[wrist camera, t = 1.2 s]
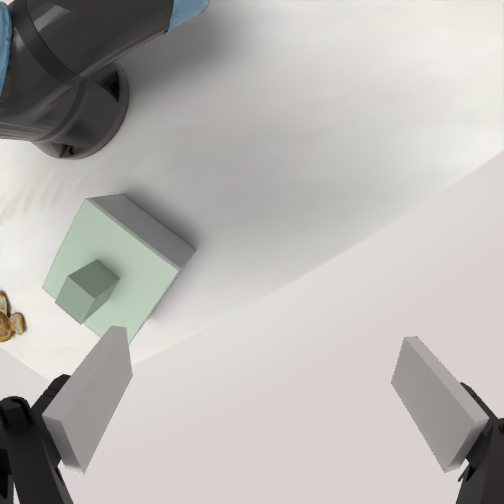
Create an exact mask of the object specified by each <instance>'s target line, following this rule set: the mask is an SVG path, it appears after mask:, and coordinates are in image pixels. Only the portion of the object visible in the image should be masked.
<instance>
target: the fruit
mask: <svg viewBox="0 0 504 504" xmlns="http://www.w3.org/2000/svg"><path fill="white" fill-rule="evenodd" d="M6 313H7V302H6V299H5V297H4V295H3V294H1V293H0V342H5V341H8V340H10V339H11V337H12V335H13V334H14V331H15V332H16V333H17V334H18V335H22V334H23V333H24V330H23V320H22V316H21V315H19V314H18V313H17V314H13V315H11V317H10V318H8V316H7V314H6Z"/></svg>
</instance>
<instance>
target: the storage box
mask: <svg viewBox="0 0 504 504" xmlns="http://www.w3.org/2000/svg"><path fill="white" fill-rule="evenodd" d="M91 199H92V200H93V201H94V202H95V203H97V204H98V205H99V206H100V207H102V208H103V209H104V210H105V211H107V212H108V213H109V214H110V215H112V216H113V217H114V218H115V219H117V220H118V221H119V222H121V223H122V224H123V225H124V226H126V227H127V228H128V229H129V230H131V231H132V232H133V233H135V234H136V235H137V236H138V237H140V238H141V239H142V240H144V241H145V242H146V243H148V244H149V245H150V246H152V247H153V248H154V249H155V250H157V251H158V252H159V253H161V254H162V255H163V256H165V257H166V258H167V259H169V260H170V261H171V262H173V263H174V264H175V265H177V266H178V267H180V268H181V269H180V271H179V272H178V273H177V275H176V276H175V278H174V279H173V281H174V280H175V279H176V277H177V276H178V274H179V273H180V272H181V270H182V269H183V267H184V266H185V265H186V263H187V262H188V260H189V259H190V258H191V256H192V255H193V253H194V252H195V251H196V249H195V248H193V247H192V246H190V245H189V244H188V243H186V242H185V241H184V240H182V239H181V238H180V237H178V236H177V235H176V234H174V233H173V232H172V231H170V230H169V229H168V228H166V227H165V226H164V225H162V224H161V223H160V222H158V221H157V220H156V219H154V218H153V217H152V216H151V215H149V214H148V213H147V212H145V211H144V210H143V209H141V208H140V207H139V206H137V205H136V204H135V203H134V202H132V201H131V200H130V199H128V198H127V197H126V196H124V195H123V194H117V195H109V196H101V197H94V198H91ZM173 281H172V282H171V283H170V285H169V286H168V288H167V289H166V291H167V290H168V289H169V287H170V286H171V284H172V283H173ZM166 291H165V292H164V293H163V295H162V296H161V298H160V299H159V301H158V302H157V304H158V303H159V302H160V300H161V299H162V297H163V296H164V294H165V293H166ZM157 304H156V305H155V306H154V308H153V309H152V311H151V312H150V314H149V315H148V317H147V318H146V320H147V319H148V318H149V316H150V315H151V313H152V312H153V310H154V309H155V307H156V306H157ZM146 320H145V321H144V323H145V322H146ZM144 323H143V324H144ZM143 324H142V326H143ZM142 326H141V327H142ZM141 327H140V329H141ZM140 329H139V330H140ZM139 330H138V331H139ZM137 333H138V332H137ZM137 333H136V334H137ZM135 336H136V335H135ZM135 336H134V337H135ZM132 340H133V339H132ZM130 343H131V342H130Z"/></svg>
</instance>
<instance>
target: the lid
mask: <svg viewBox="0 0 504 504" xmlns="http://www.w3.org/2000/svg"><path fill="white" fill-rule="evenodd" d="M180 269H181V268H180V267H178V266H177V265H175V264H174V263H173V262H171V261H170V260H169V259H167V258H166V257H165V256H163V255H162V254H161V253H159V252H158V251H157V250H155V249H154V248H153V247H152V246H150V245H149V244H148V243H146V242H145V241H144V240H142V239H141V238H140V237H138V236H137V235H136V234H135V233H133V232H132V231H131V230H129V229H128V228H127V227H126V226H124V225H123V224H122V223H121V222H119V221H118V220H117V219H115V218H114V217H113V216H112V215H110V214H109V213H108V212H107V211H105V210H104V209H103V208H102V207H100V206H99V205H98V204H97V203H95V202H94V201H93V200H92V199H91V198H86V199H85V200H84V202H83V204H82V206H81V208H80V209H79V211H78V213H77V215H76V217H75V219H74V221H73V222H72V224H71V226H70V228H69V230H68V232H67V234H66V236H65V238H64V240H63V242H62V244H61V246H60V248H59V251H58V253H57V255H56V257H55V259H54V261H53V263H52V266H51V268H50V270H49V272H48V275H47V277H46V279H45V282H44V284H43V286H42V289H44V290H45V291H46V292H47V293H48V294H49V295H50V296H51V297H52V298H53V299H55V300H56V301H55V303H56V304H57V305H58V306H59V307H61V308H62V309H63V310H64V311H65V312H66V313H67V314H69V315H70V316H71V317H72V318H73V319H75V320H76V321H77V322H78V323H79V324H82V323H83V324H84V325H85V326H87V327H88V328H89V329H90V330H92V331H93V332H94V333H95V334H97V335H98V336H99V337H101V338H102V337H103V335H104V334H105V333H106V332H107V330H108V329H109V328H110V327H111V326H119V327H126V329H127V338H128V345H129V344H130V342H131V341H132V339H133V338H134V336H135V335H136V333H137V332H138V330H139V329H140V327H141V326H142V324H143V323H144V321H145V320H146V318H147V317H148V315H149V314H150V312H151V311H152V309H153V308H154V306H155V305H156V304H157V302H158V301H159V299H160V298H161V296H162V295H163V293H164V292H165V291H166V289H167V288H168V286H169V285H170V283H171V282H172V281H173V279H174V278H175V276H176V275H177V273H178V272H179V271H180Z"/></svg>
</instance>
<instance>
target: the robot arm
mask: <svg viewBox="0 0 504 504" xmlns="http://www.w3.org/2000/svg"><path fill="white" fill-rule="evenodd" d="M208 3H209V0H14V1H13V2H11V3H10V4H9V5H8V6H7V5H6V4H5V3H3V2H1V1H0V138H1V139H13V140H24V141H31V142H32V143H33V144H34V145H36V146H37V147H38V148H39V149H41V150H42V151H43V152H45V153H46V154H48V155H50V156H52V157H55V158H59V159H80V158H84V157H87V156H89V155H91V154H93V153H95V152H96V151H98V150H99V149H101V148H102V147H103V146H104V145H105V144H106V143H107V142H108V141H109V140H110V139H111V138H112V137H113V136H114V134H115V133H116V131H117V130H118V128H119V126H120V124H121V122H122V120H123V118H124V115H125V112H126V109H127V104H128V96H129V91H128V83H127V79H126V76H125V74H124V72H123V70H122V69H121V67H120V66H119V65H118V64H117V63H116V62H115V60H117V59H118V58H120V57H122V56H123V55H125V54H127V53H128V52H130V51H132V50H134V49H135V48H137V47H139V46H141V45H142V44H144V43H146V42H148V41H150V40H152V39H154V38H156V37H157V36H159V35H161V34H164V35H165V34H168V33H170V32H171V31H172V30H173V28H175V27H177V26H179V25H180V24H182V23H184V22H186V21H188V20H190V19H192V18H194V17H196V16H198V15H200V14H201V13H202V12H203V11H204V10H205V9H206V7H207V5H208ZM132 376H133V374H132V368H131V361H130V353H129V346H128V338H127V329H126V327H119V326H111V327H110V328H109V329H108V330H107V332H106V333H105V334H104V335H103V337H102V338H101V339H100V340H99V341H98V343H97V344H96V345H95V346H94V348H93V349H92V350H91V351H90V353H89V354H88V355H87V356H86V358H85V359H84V360H83V361H82V363H81V364H80V365H79V367H78V368H77V369H76V370H75V372H74V373H73V374H72V376H70V375H66V374H63V375H61V376H59V377H58V378H56V379H54V380H53V381H52V383H51V384H50V385H49V386H48V389H46V390H45V391H44V393H43V395H41V396H40V398H39V399H38V400H37V401H36V403H35V404H34V405H33V406H32V407H31V408H30V406H29V404H28V402H27V400H25V399H24V398H22V397H17V396H10V397H7V398H4V399H3V400H1V401H0V504H14V502H13V494H14V491H13V490H14V484H15V488H16V491H17V495H18V499H19V502H20V504H73V501H72V499H71V497H70V495H69V492H68V490H67V488H66V485H65V483H64V480H63V478H62V475H61V473H60V471H59V468H58V467H57V466H58V464H59V462H60V460H61V459H62V461H63V463H64V465H65V467H66V468H67V469H69V470H73V471H75V472H79V473H82V474H85V471H86V469H87V467H88V465H89V463H90V461H91V458H92V457H93V454H94V452H95V450H96V448H97V446H98V444H99V442H100V440H101V438H102V436H103V434H104V432H105V430H106V428H107V425H108V424H109V421H110V419H111V418H112V416H113V413H114V412H115V409H116V408H117V406H118V404H119V402H120V400H121V398H122V396H123V394H124V392H125V390H126V387H127V386H128V384H129V382H130V380H131V378H132ZM391 384H392V385H393V387H394V389H395V390H396V392H397V393H398V395H399V397H400V398H401V400H402V402H403V403H404V405H405V406H406V408H407V410H408V411H409V413H410V414H411V416H412V418H413V420H414V421H415V423H416V425H417V426H418V428H419V430H420V431H421V433H422V435H423V436H424V438H425V440H426V441H427V443H428V445H429V447H430V448H431V450H432V452H433V454H434V455H435V457H436V459H437V461H438V462H439V464H440V466H441V468H442V469H443V471H444V473H446V472H449V471H452V470H455V469H458V468H460V466H461V465H462V463H463V461H464V460H465V458H466V459H467V460H468V462H469V465H468V466H467V467H466V469H465V470H464V472H463V473H462V475H461V476H460V477H459V479H458V482H460V481H461V479H462V478H463V481H462V485H461V488H460V491H459V495H458V498H457V501H456V504H504V418H501V419H498V418H497V417H496V416H495V415H494V414H493V412H492V411H491V410H490V409H489V408H488V407H487V405H486V404H485V403H484V402H483V401H482V400H481V399H480V397H479V396H477V394H476V393H475V392H474V391H473V390H472V388H470V387H469V386H467V385H466V384H464V383H462V382H461V383H459V382H458V381H457V380H456V378H455V377H454V376H453V375H452V374H451V373H450V372H449V371H448V370H447V368H446V367H445V366H444V365H443V364H442V363H441V362H440V361H439V360H438V358H437V357H436V356H435V355H434V354H433V353H432V352H431V351H430V350H429V349H428V348H427V347H426V345H424V343H423V342H422V341H421V340H420V339H419V338H418V337H417V336H415V337H404V340H403V344H402V347H401V351H400V355H399V358H398V361H397V365H396V368H395V371H394V375H393V378H392V381H391Z"/></svg>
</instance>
